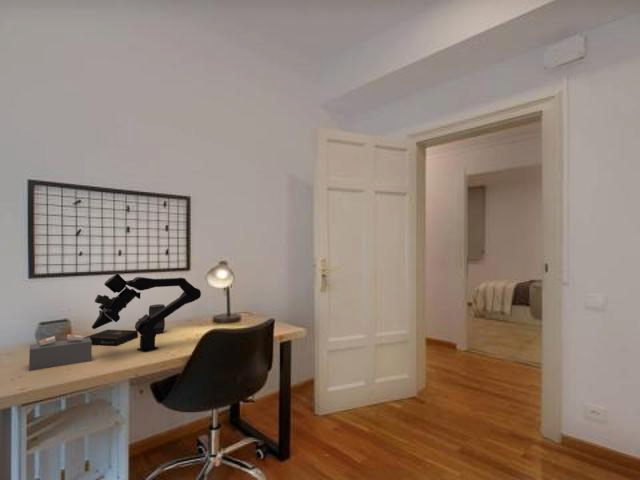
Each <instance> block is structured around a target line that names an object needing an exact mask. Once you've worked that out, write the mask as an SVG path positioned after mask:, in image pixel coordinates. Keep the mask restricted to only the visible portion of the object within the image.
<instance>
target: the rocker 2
mask: <svg viewBox="0 0 640 480" xmlns="http://www.w3.org/2000/svg"><path fill="white" fill-rule="evenodd" d="M83 338H84V337H83V335H80V334H79V335H78V334H67V336H66V339H67V340H82V339H83Z"/></svg>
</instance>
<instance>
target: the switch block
mask: <svg viewBox="0 0 640 480" xmlns="http://www.w3.org/2000/svg"><path fill="white" fill-rule="evenodd" d="M92 350H93V345H92V341H91V339H90V337H89V338H84V337H83V339H82V340H69V339H67V340H58V341H57V340H56V341H54V342H51V343H48V344H45V345H42V346H40V343H33V344H29V358H28V359H29V360H28V361H29V362H28V363H29V364H28V365H29V366H28V372H29V371H36V370H37V371H38V370H42V369H48V368H54V367H61V366H67V365H73V364H74V365H75V364H80V363H85V362H92Z"/></svg>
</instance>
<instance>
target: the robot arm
mask: <svg viewBox="0 0 640 480" xmlns="http://www.w3.org/2000/svg"><path fill="white" fill-rule="evenodd" d="M103 285H104V286H105V287H106V288H108V289H109V290H110V291H111V292H112V293H113V294H115V293H117V294H118V295H116V296H113V297H112V298H110V297H109V296H108V295H106V294H104V295H101V294H97V296H96V297H95V299H94V302H95V303H97V304H100V305H99V306H98V309H99V310H98V312H99V315H98V316H97V318H96V320H95V321H94V323H93V324H92V325H91V328H92V329H93V330H95V329H98V328H101V327H103V326H105V325H107V324H109V323H112V322H115V323H117V322H119V320H120V319H121V316H120V315H119V314H120V312H121V311H122V310H124V309H126V308H127V306H128V305H129V304H130V302H132V300H134V299H135V298H137V299H139V300H140V299H141V292H140V291H146V290H150V289H153V288H163V287H164V288H165V287H179V288H180V289H181V290H182V291H183V292H182V293H181V294H180V295H179V297H178V298H176V299H175V300H173V301H172V302H170V303H168V304H167V305H165V307H164V308H163V309H161V310H160V311H158V312H156V313H155V314H153V315H151V316H149V314H144V315H143V316H142V317H141V318H138V319H137V321H136V322H135V324H134V325H135V326H134V329H135V331H138V334H139V335H140V336H139V337H140V338H139V347H138V348H136V350H137V351H140V352H144V353H145V352H146V353H147V352H149V351H153V350H156V349H157V350H158V349H159V347H158V346H156V336H157V335H158V334H157V332H156V331H155V330H153V329H154V328H155V326H156V325H157V324H158V323H159V322H160V321H161V320H163V319H164V318H168V317H169V316H170V315H171V314H173V313H174V312H176V311H178V310H179V309H181V308H182V307H183V306H185V305H187V304H191V303H192V302H195V301H197V300H199V299H200V298H201V296H202V291H201V289H199V288H197V287H195V286H194V285H192V284H191V283H190V282H189V281H188V280H187V279H186V278H184V277H180V276H179V277H172V278H171V277H170V278H150V277H144V276H136V277H134V278H133V279H132V280H125V279H124V278H123V277H122V276H121V275H120V274H119V273H116V274H114V275H113V276H111V277H109V278H108V279H107V280H106V281H105V282H104V283H103ZM137 291H139V292H137Z"/></svg>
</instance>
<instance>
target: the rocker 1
mask: <svg viewBox="0 0 640 480" xmlns="http://www.w3.org/2000/svg"><path fill="white" fill-rule="evenodd" d="M51 342H57V340H56V336H55V335H53V336H50V337H47V338H43V339H40V340H39V342H38V343H39V344H40V346H42V345H45V344H48V343H51Z"/></svg>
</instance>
